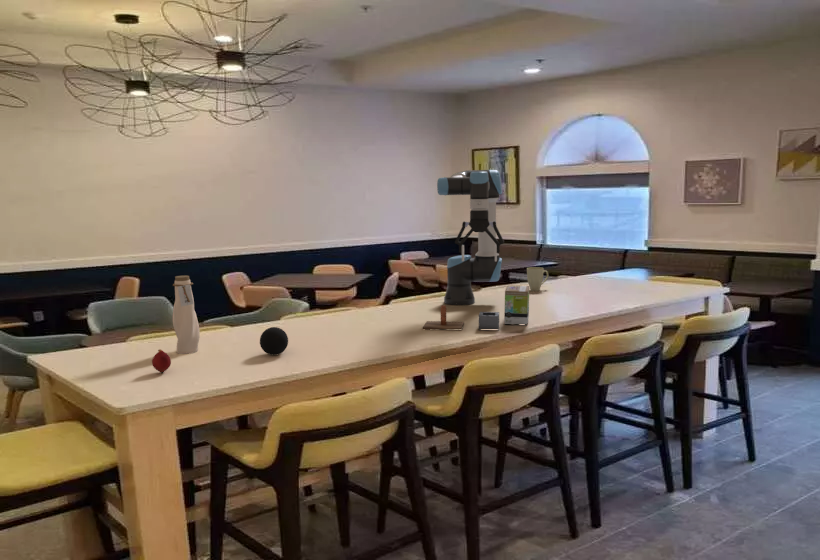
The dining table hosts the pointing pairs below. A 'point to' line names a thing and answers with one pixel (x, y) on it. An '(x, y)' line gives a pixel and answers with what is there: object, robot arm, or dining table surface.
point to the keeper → (442, 322)
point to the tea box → (516, 305)
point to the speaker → (273, 341)
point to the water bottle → (185, 317)
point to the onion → (161, 361)
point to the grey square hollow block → (489, 320)
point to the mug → (535, 277)
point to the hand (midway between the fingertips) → (479, 261)
